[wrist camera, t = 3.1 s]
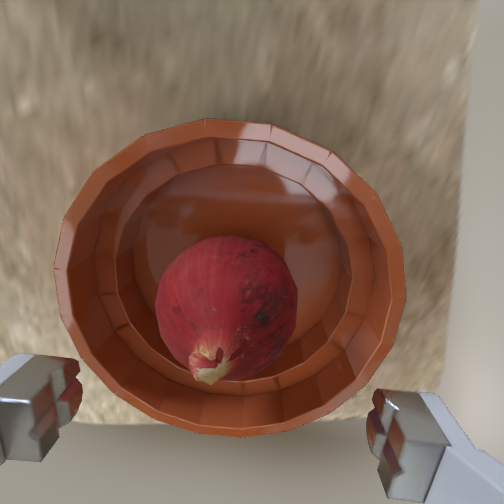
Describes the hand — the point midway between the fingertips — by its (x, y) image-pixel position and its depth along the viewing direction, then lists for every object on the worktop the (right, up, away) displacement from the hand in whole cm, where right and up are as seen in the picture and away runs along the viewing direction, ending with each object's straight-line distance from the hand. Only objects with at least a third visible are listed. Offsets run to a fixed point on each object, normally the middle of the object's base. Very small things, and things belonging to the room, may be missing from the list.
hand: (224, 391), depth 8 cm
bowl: (0, +3, +8) cm, 9 cm away
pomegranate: (0, +3, +8) cm, 9 cm away
